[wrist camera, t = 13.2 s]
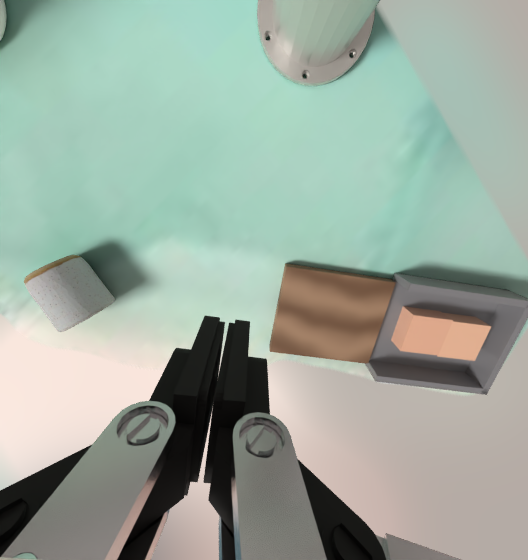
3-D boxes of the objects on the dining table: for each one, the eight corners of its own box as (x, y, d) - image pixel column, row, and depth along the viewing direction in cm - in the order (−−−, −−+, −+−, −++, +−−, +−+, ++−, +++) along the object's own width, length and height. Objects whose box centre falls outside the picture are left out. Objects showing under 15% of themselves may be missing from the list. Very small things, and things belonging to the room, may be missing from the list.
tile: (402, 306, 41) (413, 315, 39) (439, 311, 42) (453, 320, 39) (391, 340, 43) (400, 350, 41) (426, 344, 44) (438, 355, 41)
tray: (394, 273, 40) (410, 283, 36) (507, 290, 42) (536, 302, 37) (364, 362, 45) (375, 381, 41) (465, 375, 47) (486, 394, 43)
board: (285, 263, 39) (286, 266, 38) (390, 279, 41) (395, 282, 39) (269, 345, 44) (269, 351, 42) (364, 357, 45) (368, 363, 44)
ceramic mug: (88, 245, 38) (47, 261, 31) (125, 293, 40) (95, 318, 33) (31, 279, 40) (-20, 301, 32) (70, 323, 42) (30, 352, 35)
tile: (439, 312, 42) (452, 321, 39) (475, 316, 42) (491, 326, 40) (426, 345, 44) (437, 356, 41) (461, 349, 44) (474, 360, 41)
